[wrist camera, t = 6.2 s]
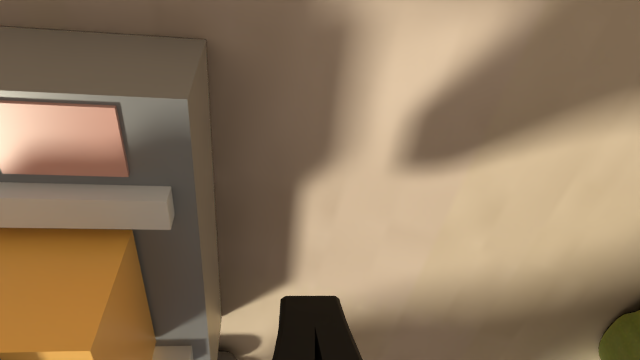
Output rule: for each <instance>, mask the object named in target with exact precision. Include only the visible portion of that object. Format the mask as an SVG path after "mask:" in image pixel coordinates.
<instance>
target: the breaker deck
mask: <svg viewBox="0 0 640 360" xmlns="http://www.w3.org/2000/svg"><path fill="white" fill-rule="evenodd" d="M0 228H45V229H121V230H132V231H133V235H134V240H135V245H136V249H137V254H138V259H139V263H140V268H141V273H142V278H143V282H144V287H145V292H146V296H147V301H148V306H149V310H150V315H151V320H152V325H153V329H154V334H155V339H156V344H155V348H154V353H153V357H152V360H217V357H218V347H219V338H220V328H221V319H222V317H221V299H220V281H219V263H218V246H217V228H216V210H215V192H214V174H213V157H212V139H211V121H210V103H209V85H208V68H207V50H206V40H205V39H189V38H174V37H158V36H142V35H127V34H111V33H96V32H80V31H65V30H49V29H34V28H18V27H3V26H0Z"/></svg>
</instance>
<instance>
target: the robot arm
mask: <svg viewBox="0 0 640 360" xmlns="http://www.w3.org/2000/svg"><path fill="white" fill-rule="evenodd" d="M272 360H363V359H362V357H361V355H360V353H359V350H358V348H357V346H356V343H355V341H354V339H353V336H352V334H351V331H350V329H349V326H348V324H347V321H346V318H345V316H344V313H343V310H342V307H341V304H340V300H339V298H337V297H336V296H285V297H283V298H282V299H281V303H280V316H279V329H278V336H277V341H276V346H275V351H274V355H273V359H272Z"/></svg>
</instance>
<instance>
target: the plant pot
mask: <svg viewBox="0 0 640 360" xmlns="http://www.w3.org/2000/svg"><path fill="white" fill-rule="evenodd" d="M599 356H600V359H601V360H640V310H639V311H637V312H633V313H628V314H624V315H622V316H621V317H619V318H618V319H617V320H616V321H615V322H614V323H613V324H612V325H611V326H610V327H609V328H608V330H607V331H606V332H605V334H604V335H603V337H602V339H601V341H600V345H599Z"/></svg>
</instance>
